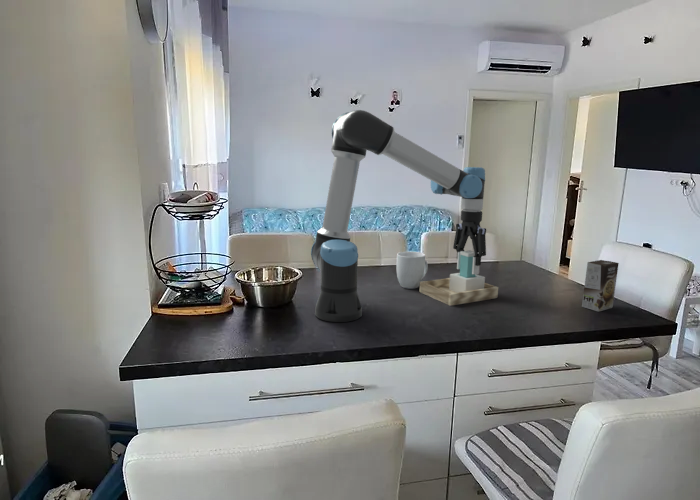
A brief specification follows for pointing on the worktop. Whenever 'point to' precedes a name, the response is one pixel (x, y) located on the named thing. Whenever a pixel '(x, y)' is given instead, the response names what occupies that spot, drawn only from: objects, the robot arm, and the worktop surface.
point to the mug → (411, 269)
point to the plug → (466, 264)
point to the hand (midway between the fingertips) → (467, 271)
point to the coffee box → (600, 285)
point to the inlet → (465, 283)
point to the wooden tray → (444, 294)
